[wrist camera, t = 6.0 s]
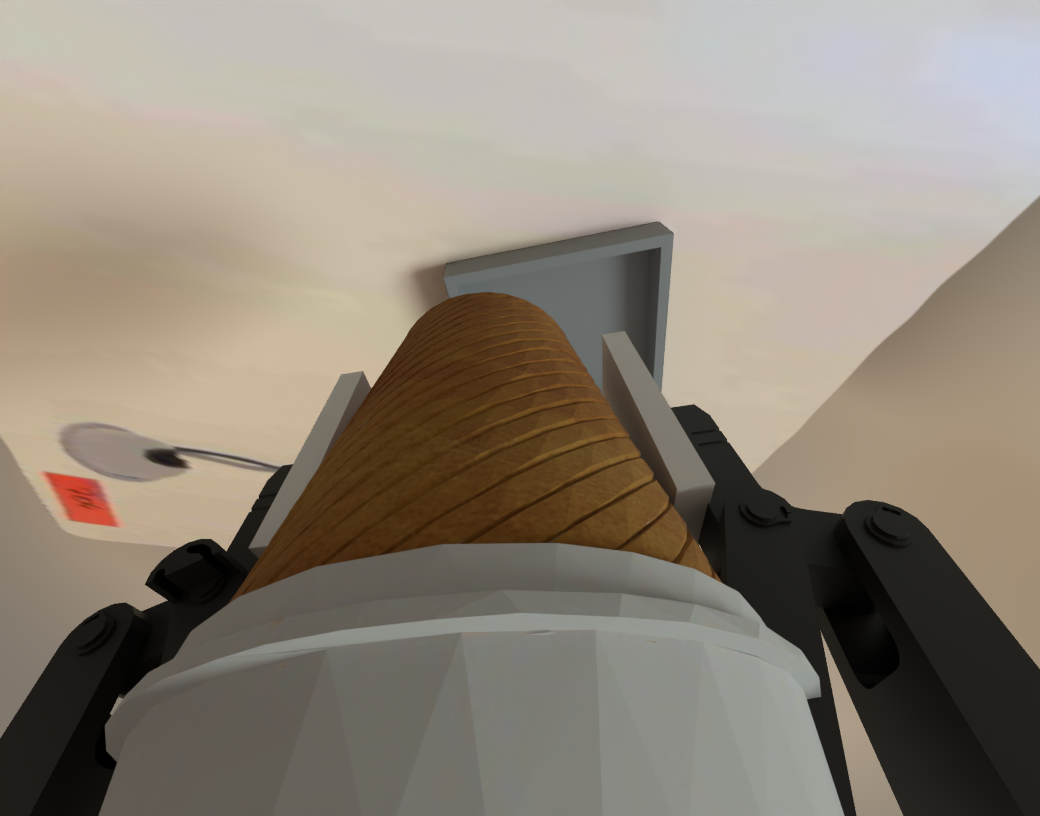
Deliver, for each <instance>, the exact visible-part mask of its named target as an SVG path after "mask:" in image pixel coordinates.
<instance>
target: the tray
mask: <svg viewBox="0 0 1040 816" xmlns="http://www.w3.org/2000/svg"><path fill="white" fill-rule="evenodd" d="M673 236H674V233H673V232H672V231H670V230H669V229H668V228H667V227H665V226H664V225H663V224H662V223H660V222H655V223H650V224H645V225H640V226H635V227H630V228H625V229H620V230H614V231H609V232H604V233H599V234H594V235H589V236H584V237H579V238H574V239H568V240H563V241H558V242H553V243H548V244H543V245H538V246H533V247H528V248H522V249H517V250H512V251H507V252H502V253H497V254H492V255H487V256H482V257H476V258H471V259H466V260H461V261H456V262H451V263H447V265H446V269H445V273H444V277H443V278H444V282H445V285H446V288H447V292H448V295H449V298H453V297H456V296H460V295H464V294H471V293H481V292H494V293H503V294H509V295H512V296H515V297H518V298H521V299H525V300H527V301H528V302H530V303H532V304H534V305H536V306H538V307H539V308H541V309H542V310H543V311H545V312H546V313H547V314H548V315H549V316H551V317H552V318H553V319H554V321H555V322H556V323H557V324H558V325H559V327H560V328H561V329H562V331H563V332H564V333H565V336H566V338H567V339H568V341H569V342H570V344H571V346H572V347H573V349H574V350H575V352H576V354H577V355H578V357H579V358H580V359H581V362H582V363H583V365H584V366H585V367H586V369H587V371H588V373H589V374H590V376H591V377H592V378H593V380H594V383H595V384H596V385H597V386H598V388H599V389H600V390H601V394H602V334H608V333H615V332H621V331H625V332H626V334H627V336H628V337H629V339H630V341H631V342H632V344H633V346H634V347H635V349H636V351H637V352H638V354H639V356H640V358H641V359H642V361H643V363H644V364H645V366H646V368H647V369H648V371H649V373H650V374H651V376H652V378H653V379H654V381H655V383H656V384H657V386H658V388H659V389H660V391H661V389H662V376H663V364H664V351H665V338H666V325H667V313H668V300H669V287H670V274H671V262H672V249H673Z"/></svg>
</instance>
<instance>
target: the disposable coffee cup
mask: <svg viewBox="0 0 1040 816" xmlns="http://www.w3.org/2000/svg"><path fill="white" fill-rule="evenodd" d="M619 421H620V420H619V419H618V417H617V416H616V415H615V413H614V412H613V411H612V409H611V408H610V404H609V403H608V402H607V400H606V399H605V398H604V397H603V395H602V394H601V390H600V389H599V388H598V386H597V385H596V384H595V383H594V380H593V378H592V377H591V376H590V374H589V373H588V371H587V369H586V367H585V366H584V365H583V363H582V362H581V359H580V358H579V357H578V355H577V354H576V352H575V350H574V349H573V347H572V346H571V344H570V342H569V341H568V339H567V338H566V336H565V333H564V332H563V331H562V329H561V328H560V327H559V325H558V324H557V323H556V322H555V321H554V319H553V318H552V317H551V316H549V315H548V314H547V313H546V312H545V311H543V310H542V309H541V308H539V307H538V306H536V305H534V304H532V303H530V302H528V301H527V300H525V299H521V298H518V297H515V296H512V295H509V294H503V293H494V292H481V293H471V294H464V295H460V296H456V297H453V298H450V299H448V300H446V301H444V302H442V303H440V304H439V305H437V306H435V307H433V308H431V309H430V310H429V311H428V312H426V313H425V314H424V315H423V316H422V317H421V318H420V319H418V320H417V322H416V323H415V324H414V326H413V327H412V328H411V329H410V331H409V332H408V334H407V336H406V338H405V339H404V341H403V342H402V344H401V345H400V347H399V348H398V350H397V352H396V353H395V354H394V356H393V357H392V359H391V360H390V362H389V363H388V365H387V366H386V368H385V369H384V371H383V372H382V374H381V375H380V377H379V378H378V380H377V381H376V383H375V384H374V386H373V387H372V389H371V390H370V391H369V393H368V394H367V396H366V398H365V399H364V401H363V402H362V404H361V405H360V406H359V408H358V410H357V411H356V413H355V414H354V416H353V417H352V419H351V420H350V421H349V423H348V425H347V427H346V428H345V429H344V431H343V432H342V434H341V435H340V437H339V438H338V440H337V441H336V442H335V444H334V446H333V447H332V448H331V450H330V451H329V453H328V454H327V456H326V457H325V459H324V460H323V462H322V463H321V465H320V466H319V468H318V469H317V471H316V472H315V474H314V475H313V477H312V478H311V480H310V481H309V483H308V484H307V486H306V488H305V490H304V491H303V493H302V494H301V496H300V497H299V498H298V500H297V501H296V503H295V504H294V506H293V507H292V509H291V510H290V511H289V513H288V515H287V517H286V518H285V520H284V521H283V523H282V524H281V526H280V527H279V529H278V530H277V532H276V533H275V535H274V536H273V537H272V539H271V541H270V543H269V545H268V546H267V547H266V549H265V550H264V552H263V553H262V555H261V556H260V558H259V559H258V561H257V562H256V564H255V565H254V567H253V568H252V570H251V571H250V573H249V574H248V576H247V578H246V579H245V581H244V582H243V584H242V585H241V587H240V588H239V590H238V591H237V593H236V594H235V595H234V597H233V598H232V599H231V600H230V602H229V603H228V605H227V606H225V607H224V608H222V609H221V610H220V611H218V612H217V613H216V614H214V615H213V616H211V617H210V618H209V619H207V620H206V621H204V622H203V623H202V624H200V625H199V626H197V627H196V628H195V629H193V630H192V631H191V632H190V634H189V635H188V637H187V639H186V640H185V642H184V643H183V645H182V646H181V648H180V650H179V651H178V653H177V654H176V656H175V657H174V659H172V660H170V661H169V662H167V663H165V664H163V665H161V666H159V667H158V668H156V669H154V670H152V671H150V672H148V673H147V674H146V676H145V677H144V678H143V679H142V680H141V681H140V682H139V683H138V684H137V685H136V686H135V687H134V688H133V689H132V690H131V691H130V692H129V693H128V694H127V695H126V696H125V697H124V699H123V700H122V701H121V703H120V704H119V706H118V707H117V709H116V710H115V712H114V713H113V714H112V716H111V717H110V719H109V720H108V722H107V723H106V724H105V739H106V751H107V752H108V753H109V754H110V755H111V756H112V757H113V758H114V759H115V760H116V761H117V765H116V768H115V770H114V773H113V776H112V779H111V782H110V785H109V787H108V790H107V793H106V796H105V799H104V802H103V804H102V807H101V810H100V813H99V816H844V813H843V810H842V807H841V804H840V800H839V797H838V794H837V791H836V788H835V785H834V782H833V779H832V776H831V773H830V770H829V767H828V764H827V761H826V758H825V754H824V751H823V748H822V745H821V742H820V739H819V736H818V733H817V730H816V727H815V724H814V721H813V718H812V715H811V712H810V708H809V705H808V702H807V699H811V698H817V697H821V690H820V680H819V676H818V675H817V673H816V672H815V670H814V669H813V667H812V666H811V664H810V663H809V661H808V660H807V658H806V657H805V655H804V654H803V652H802V651H801V650H800V649H799V648H797V647H796V646H794V645H793V644H791V643H790V642H788V641H787V640H785V639H784V638H782V637H781V636H779V635H778V634H776V633H775V632H773V631H772V630H770V629H769V628H767V627H766V626H765V624H764V622H763V621H762V619H761V617H760V616H759V615H758V614H757V613H756V611H755V610H754V609H753V608H752V607H751V606H750V605H749V603H748V602H747V601H746V600H745V599H744V598H743V596H742V595H741V594H740V593H739V592H738V591H736V590H734V589H732V588H730V587H728V586H726V585H724V584H723V583H722V582H721V580H720V579H719V577H718V576H717V574H716V573H715V571H714V570H713V568H712V567H711V565H710V564H709V562H708V559H707V557H706V556H705V554H704V553H703V551H702V550H701V548H700V547H699V545H698V544H697V542H696V541H695V539H694V538H693V536H692V535H691V533H690V532H689V530H687V529H686V523H685V521H684V520H683V519H682V517H681V516H680V515H679V513H678V512H677V510H676V509H675V508H674V506H673V505H672V504H671V503H669V502H668V501H669V496H668V495H667V493H666V492H665V491H664V489H663V488H662V487H661V485H660V484H659V483H658V481H657V480H656V479H653V476H654V473H653V471H652V470H651V469H650V467H649V466H648V465H647V463H646V462H645V460H644V459H642V458H640V454H641V452H640V451H639V450H638V448H637V447H636V446H635V445H634V443H633V442H632V441H631V440H630V439H629V434H628V432H627V431H626V430H625V428H624V427H623V426H622V425H621V424H620V423H619Z"/></svg>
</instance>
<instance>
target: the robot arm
mask: <svg viewBox="0 0 1040 816" xmlns="http://www.w3.org/2000/svg"><path fill="white" fill-rule="evenodd" d="M370 390H371V387H370V385H369V383H368V381H367V379H366V376H365V374H364V372H363V371H361V372H354V373H348V374H341V376H340V378H339V380H338V382H337V383H336V385H335V387H334V389H333V391H332V393H331V395H330V397H329V398H328V400H327V402H326V404H325V406H324V408H323V410H322V412H321V413H320V415H319V417H318V419H317V421H316V423H315V425H314V426H313V428H312V430H311V432H310V434H309V436H308V438H307V440H306V441H305V443H304V445H303V447H302V449H301V451H300V453H299V455H298V456H297V458H296V460H295V462H294V464H291V465H284V466H282V467H281V468H280V469H279V470H278V471H277V472H276V473H275V474H274V475H273V476H272V477H271V478H270V479H269V480H268V481H267V483H266V484H265V486H264V488H263V489H262V491H261V493H260V495H259V499H257V500H256V501H255V503H254V505H253V507H252V508H251V509H252V511H251V512H249V514H248V515H247V517H246V519H245V520H244V522H243V524H242V526H241V527H240V529H239V531H238V533H237V534H236V536H235V538H234V539H233V541H232V543H231V545H230V546H229V548H228V550H227V552H226V551H225V550H224V549H223V548H222V547H221V546H220V545H218V544H217V543H216V542H214V541H213V540H212V539H199V540H196V541H193V542H189V543H187V544H185V545H183V546H181V547H180V548H178V549H176V550H174V551H173V552H172V553H170V554H169V555H168V556H167V557H166V558H164V559H163V560H162V561H161V562H160V563H159V564H158V565H157V566H156V567H155V569H154V570H153V571H152V572H151V573H150V576H149V577H148V579H147V582H146V583H145V585H146V586H148V587H149V588H151V589H152V590H154V591H155V592H157V593H158V594H160V595H161V596H163V597H164V598H166V599H167V600H168V601H166V602H163V603H161V604H158V605H156V606H153V607H151V608H149V609H146V610H144V611H139V610H138V609H136V608H135V607H133V606H131V605H129V604H127V603H118V604H113V605H110V606H108V607H106V608H103V609H101V610H99V611H97V612H96V613H94V614H93V615H91V616H90V617H88V618H87V619H85V620H84V621H83V622H82V623H81V624H79V625H78V626H77V627H76V628H75V629H74V630H73V631H72V632H71V633H70V634H69V635H68V636H67V638H66V639H65V640H64V641H63V643H62V644H61V645H60V646H59V648H58V650H57V651H56V653H55V654H54V656H53V657H52V659H51V660H50V662H49V664H48V665H47V667H46V669H45V670H44V671H43V673H42V674H41V676H40V678H39V679H38V681H37V683H36V684H35V686H34V687H33V688H32V690H31V692H30V693H29V695H28V696H27V698H26V699H25V701H24V702H23V704H22V706H21V707H20V709H19V710H18V712H17V714H16V715H15V717H14V718H13V720H12V721H11V723H10V724H9V726H8V727H7V729H6V731H5V732H4V734H3V735H2V737H1V738H0V816H99V813H100V810H101V807H102V804H103V802H104V799H105V796H106V793H107V790H108V787H109V785H110V782H111V779H112V776H113V773H114V770H115V768H116V765H117V761H116V760H115V759H114V758H113V757H112V756H111V755H110V754H109V753H108V752H107V751H106V739H105V724H106V723H107V722H108V720H109V719H110V717H111V716H112V715H110V712H111V710H112V708H113V706H114V704H115V702H116V700H117V698H118V697H121V698H123V699H124V697H125V696H126V695H127V694H128V693H129V692H130V691H131V690H132V689H133V688H134V687H135V686H136V685H137V684H138V683H139V682H140V681H141V680H142V679H143V678H144V677H145V676H146V674H147V673H148V672H150V671H152V670H154V669H156V668H158V667H159V666H161V665H163V664H165V663H167V662H169V661H170V660H172V659H174V657H175V656H176V654H177V653H178V651H179V650H180V648H181V646H182V645H183V643H184V642H185V640H186V639H187V637H188V635H189V634H190V632H191V631H192V630H193V629H195V628H196V627H197V626H199V625H200V624H202V623H203V622H204V621H206V620H207V619H209V618H210V617H211V616H213V615H214V614H216V613H217V612H218V611H220V610H221V609H222V608H224V607H225V606H227V605H228V603H229V602H230V600H231V599H232V598H233V597H234V595H235V594H236V593H237V591H238V590H239V588H240V587H241V585H242V584H243V582H244V581H245V579H246V578H247V576H248V574H249V573H250V571H251V570H252V568H253V567H254V565H255V564H256V562H257V561H258V559H259V558H260V556H261V555H262V553H263V552H264V550H265V549H266V547H267V546H268V545H269V543H270V541H271V539H272V537H273V536H274V535H275V533H276V532H277V530H278V529H279V527H280V526H281V524H282V523H283V521H284V520H285V518H286V517H287V515H288V513H289V511H290V510H291V509H292V507H293V506H294V504H295V503H296V501H297V500H298V498H299V497H300V496H301V494H302V493H303V491H304V490H305V488H306V486H307V484H308V483H309V481H310V480H311V478H312V477H313V475H314V474H315V472H316V471H317V469H318V468H319V466H320V465H321V463H322V462H323V460H324V459H325V457H326V456H327V454H328V453H329V451H330V450H331V448H332V447H333V446H334V444H335V442H336V441H337V440H338V438H339V437H340V435H341V434H342V432H343V431H344V429H345V428H346V427H347V425H348V423H349V421H350V420H351V419H352V417H353V416H354V414H355V413H356V411H357V410H358V408H359V406H360V405H361V404H362V402H363V401H364V399H365V398H366V396H367V394H368V393H369V391H370ZM602 395H603V397H604V398H605V399H606V400H607V402H608V403H609V404H610V408H611V409H612V411H613V412H614V413H615V415H616V416H617V417H618V419H619V420H620V421H619V423H620V424H621V425H622V426H623V427H624V428H625V430H626V431H627V432H628V434H629V439H630V440H631V441H632V442H633V443H634V445H635V446H636V447H637V448H638V450H639V451H640V452H641V454H640V458H642V459H644V460H645V462H646V463H647V465H648V466H649V467H650V469H651V470H652V471H653V473H654V476H653V479H656V480H657V481H658V483H659V484H660V485H661V487H662V488H663V489H664V491H665V492H666V493H667V495H668V496H669V501H668V502H669V503H671V504H672V505H673V506H674V508H675V509H676V510H677V512H678V513H679V515H680V516H681V517H682V519H683V520H684V521H685V523H686V529H687V530H689V532H690V533H691V535H692V536H693V538H694V539H695V541H696V542H697V544H698V545H700V547H701V549H702V551H703V553H704V554H705V556H706V557H707V559H708V562H709V564H710V565H711V567H712V568H713V570H714V571H715V573H716V574H717V576H718V577H719V579H720V580H721V582H722V583H723V584H724V585H726V586H728V587H730V588H732V589H734V590H736V591H738V592H739V593H740V594H741V595H742V596H743V598H744V599H745V600H746V601H747V602H748V603H749V605H750V606H751V607H752V608H753V609H754V610H755V611H756V613H757V614H758V615H759V616H760V617H761V619H762V621H763V622H764V624H765V626H766V627H767V628H769V629H770V630H772V631H773V632H775V633H776V634H778V635H779V636H781V637H782V638H784V639H785V640H787V641H788V642H790V643H791V644H793V645H794V646H796V647H797V648H799V649H800V650H801V651H802V652H803V654H804V655H805V657H806V658H807V660H808V661H809V663H810V664H811V666H812V667H813V669H814V670H815V672H816V673H817V675H818V676H819V680H820V690H821V697H817V698H811V699H807V702H808V705H809V708H810V712H811V715H812V718H813V721H814V724H815V727H816V730H817V733H818V736H819V739H820V742H821V745H822V748H823V751H824V754H825V758H826V761H827V764H828V767H829V770H830V773H831V776H832V779H833V782H834V785H835V788H836V791H837V794H838V797H839V800H840V804H841V807H842V810H843V813H844V816H856V811H855V806H854V801H853V796H852V791H851V785H850V780H849V775H848V770H847V765H846V760H845V755H844V750H843V745H842V739H841V734H840V729H839V724H838V719H837V714H836V709H835V704H834V698H833V693H832V688H831V683H830V678H829V673H828V667H827V662H826V657H825V652H824V647H823V642H822V637H821V632H822V635H823V637H824V639H825V641H826V644H827V645H828V648H829V650H830V652H831V655H832V657H833V659H834V661H835V664H836V666H837V668H838V670H839V673H840V675H841V677H842V679H843V681H844V684H845V686H846V688H847V690H848V693H849V695H850V697H851V699H852V702H853V704H854V706H855V708H856V711H857V713H858V715H859V717H860V719H861V722H862V724H863V726H864V728H865V731H866V733H867V735H868V737H869V740H870V742H871V744H872V746H873V749H874V751H875V753H876V755H877V758H878V760H879V762H880V764H881V766H882V768H883V771H884V773H885V775H886V778H887V780H888V782H889V784H890V786H891V789H892V791H893V793H894V795H895V798H896V800H897V802H898V804H899V807H900V809H901V811H902V813H903V816H1040V669H1039V668H1038V666H1037V665H1036V664H1035V663H1034V662H1033V660H1032V659H1031V658H1030V656H1029V655H1028V654H1027V653H1026V651H1025V650H1024V649H1023V648H1022V646H1021V645H1020V644H1019V643H1018V641H1017V640H1016V639H1015V637H1014V636H1013V635H1012V634H1011V632H1010V631H1009V630H1008V629H1007V627H1006V626H1005V625H1004V624H1003V622H1002V621H1001V620H1000V619H999V617H998V616H997V615H996V613H995V612H994V611H993V610H992V608H991V607H990V606H989V605H988V603H987V602H986V601H985V600H984V598H983V597H982V596H981V595H980V593H979V592H978V591H977V590H976V588H975V587H974V586H973V585H972V583H971V582H970V581H969V580H968V578H967V577H966V576H965V575H964V573H963V572H962V571H961V569H960V568H959V567H958V566H957V564H956V563H955V562H954V561H953V559H952V558H951V557H950V556H949V554H948V553H947V552H946V551H945V549H944V548H943V547H942V546H941V544H940V543H939V542H938V540H937V539H936V538H935V537H934V535H933V534H932V533H931V532H930V530H929V529H928V528H927V527H926V526H925V525H924V524H923V523H921V522H920V521H919V520H918V519H917V518H916V517H914V516H913V515H911V514H909V513H908V512H906V511H904V510H903V509H901V508H898V507H896V506H893V505H890V504H887V503H884V502H878V501H871V500H865V501H859V502H854V503H853V504H851V505H850V506H849V507H847V508H846V510H845V511H844V513H843V514H836V513H828V512H820V511H813V510H805V509H800V508H796V507H793V506H791V505H790V504H789V503H788V502H787V501H786V500H785V499H784V498H782V497H780V496H779V495H777V494H775V493H773V492H771V491H768V490H765V489H762V488H761V486H760V485H759V484H758V483H757V481H756V480H755V479H754V477H753V476H752V474H751V473H750V471H749V470H748V469H747V467H746V466H745V464H744V463H743V462H742V460H741V459H740V457H739V456H738V454H737V453H736V452H735V450H734V449H733V447H732V446H731V445H730V443H728V442H727V439H726V437H725V436H724V435H723V433H722V432H721V431H719V428H718V426H717V425H716V423H715V422H714V420H713V419H712V418H711V416H710V415H709V414H707V413H706V412H704V411H703V410H701V409H700V408H698V407H697V406H696V405H694V404H693V405H687V406H680V407H673V408H670V406H669V405H668V403H667V401H666V400H665V398H664V396H663V394H662V393H661V391H660V389H659V388H658V386H657V384H656V383H655V381H654V379H653V378H652V376H651V374H650V373H649V371H648V369H647V368H646V366H645V364H644V363H643V361H642V359H641V358H640V356H639V354H638V352H637V351H636V349H635V347H634V346H633V344H632V342H631V341H630V339H629V337H628V336H627V334H626V332H625V331H621V332H615V333H608V334H602ZM820 630H821V632H820Z"/></svg>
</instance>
